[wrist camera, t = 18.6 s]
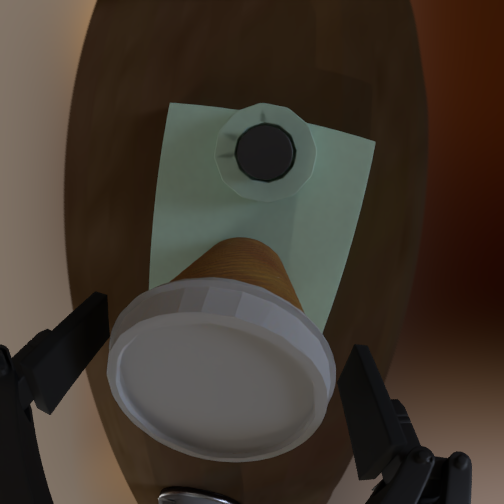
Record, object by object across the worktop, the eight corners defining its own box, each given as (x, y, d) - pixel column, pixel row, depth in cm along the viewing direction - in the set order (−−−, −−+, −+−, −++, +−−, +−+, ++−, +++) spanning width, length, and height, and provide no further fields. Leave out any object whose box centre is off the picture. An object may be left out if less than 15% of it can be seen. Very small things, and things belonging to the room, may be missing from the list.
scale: (309, 354, 24) (313, 377, 22) (152, 323, 24) (140, 342, 22) (371, 136, 18) (386, 134, 16) (176, 99, 18) (161, 91, 16)
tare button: (285, 181, 17) (287, 184, 16) (236, 172, 17) (232, 174, 16) (295, 133, 16) (297, 131, 15) (245, 124, 16) (242, 120, 15)
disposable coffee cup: (154, 253, 21) (57, 348, 10) (268, 188, 19) (264, 240, 8) (221, 350, 23) (189, 475, 12) (329, 303, 21) (369, 432, 10)
